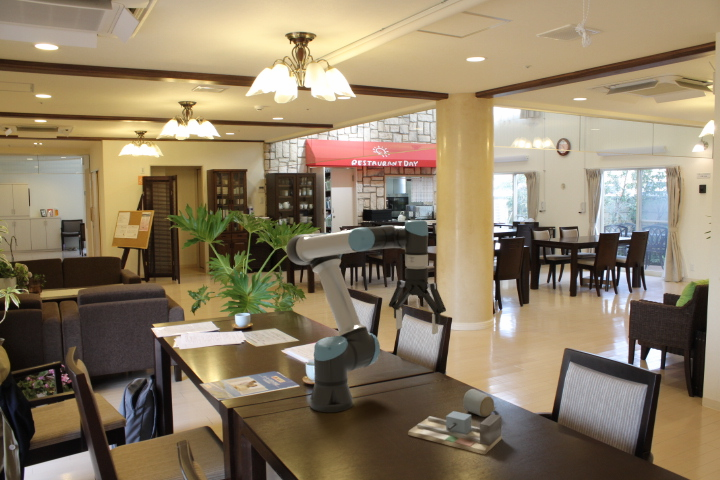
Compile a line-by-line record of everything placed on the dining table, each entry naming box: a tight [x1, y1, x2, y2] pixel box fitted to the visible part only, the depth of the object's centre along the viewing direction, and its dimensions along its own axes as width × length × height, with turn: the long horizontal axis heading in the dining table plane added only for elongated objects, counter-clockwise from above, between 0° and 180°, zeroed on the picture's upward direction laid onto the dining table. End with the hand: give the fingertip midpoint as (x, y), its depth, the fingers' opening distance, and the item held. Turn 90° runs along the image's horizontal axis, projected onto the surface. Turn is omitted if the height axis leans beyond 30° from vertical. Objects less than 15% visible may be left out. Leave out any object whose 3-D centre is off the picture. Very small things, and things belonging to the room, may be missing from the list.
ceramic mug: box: [462, 388, 497, 418], centre depth 195 cm, size 11×8×8 cm
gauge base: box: [407, 413, 503, 455], centre depth 176 cm, size 25×13×7 cm, turn 55°
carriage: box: [445, 410, 472, 435], centre depth 175 cm, size 6×9×5 cm, turn 145°
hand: (416, 330), depth 192 cm, fingers open, 13 cm apart
